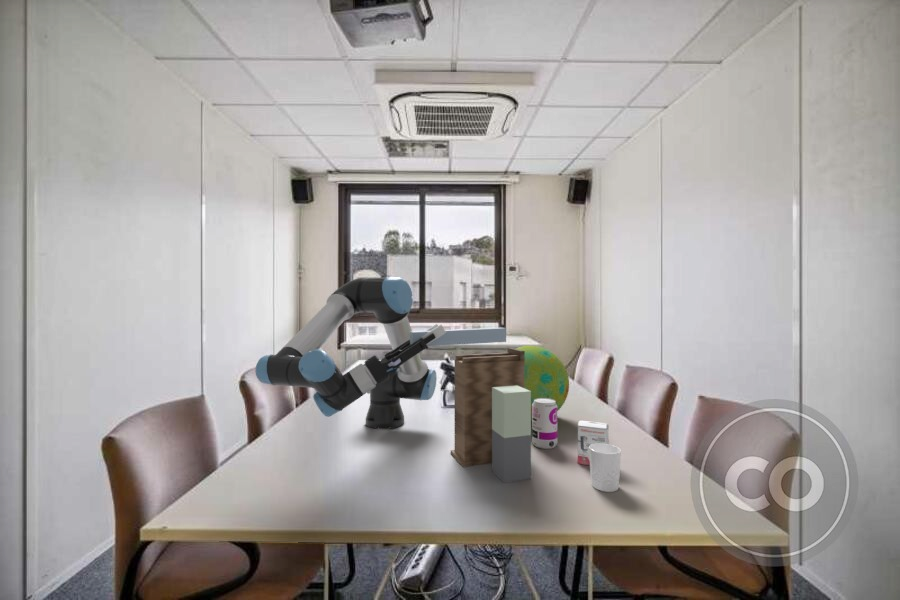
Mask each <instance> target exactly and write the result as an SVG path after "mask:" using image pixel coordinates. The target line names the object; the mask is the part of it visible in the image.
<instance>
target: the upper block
mask: <svg viewBox="0 0 900 600" xmlns="http://www.w3.org/2000/svg"><path fill="white" fill-rule="evenodd" d="M492 430H494V431H495V432H497V433H498V434H499V435H501V436H502V437H503V438H510V437H518V436H527V435H531V436H532V421H531V391H529V390H527V389H524V388H522V387H520V386H517V385H515V386H502V387H492Z"/></svg>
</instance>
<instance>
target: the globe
mask: <svg viewBox="0 0 900 600" xmlns="http://www.w3.org/2000/svg"><path fill="white" fill-rule="evenodd" d="M515 349H519V350H523V351H525V389H527V390H529V391H531V422H532V404H533V402H534V400H535V399H538V398H548V399H553V400H555V402H556V404H557V412H558V411H559V410H561V408H562V407H563V406H564V404H565V402H566V401H567V398H568V396H569V389H570V379H569V375H568V372H567V369H566V366H565V365H564V363H563V361H561V359H560V358H559V357H558V356H557V355H556V354H555V353H554V352H553V351H551V350H550V349H549V350H548V349H547V348H544V347H543V346H542V347H541V346H537V345H522V346H519V347H516V348H515Z"/></svg>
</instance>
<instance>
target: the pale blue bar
mask: <svg viewBox="0 0 900 600" xmlns="http://www.w3.org/2000/svg"><path fill="white" fill-rule="evenodd" d="M444 330H445V332H446V333H445V334H444V335H442V336H441V337H439V338H438V339H436V340H434V341H433V342H431V343H430V344H428V345H427V346H428V347H434V346H435V347H436V346H453V345H455V346H456V345H471V344H472V345H473V344H492V343H493V344H494V343H506V342H507V328H506V327H484V328H483V327H482V328H481V327H480V328H461V329H459V328H458V329H444ZM428 332H430V331H426V330H412V331H410V345H411V344H413V343H414V342H416V341H418V340H419V339H420V338H422V336H424V335H425V334H427V333H428Z"/></svg>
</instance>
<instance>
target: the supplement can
mask: <svg viewBox="0 0 900 600" xmlns="http://www.w3.org/2000/svg"><path fill="white" fill-rule="evenodd" d="M531 444H533V445H534V446H535V447H536V448H538V449H543V450H544V449H545V450H551V449H555V448H556V447H557V445H558V411H557V404H556V402H555V400H553V399H548V398H538V399H535V400H534V402H533V404H532V421H531Z"/></svg>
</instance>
